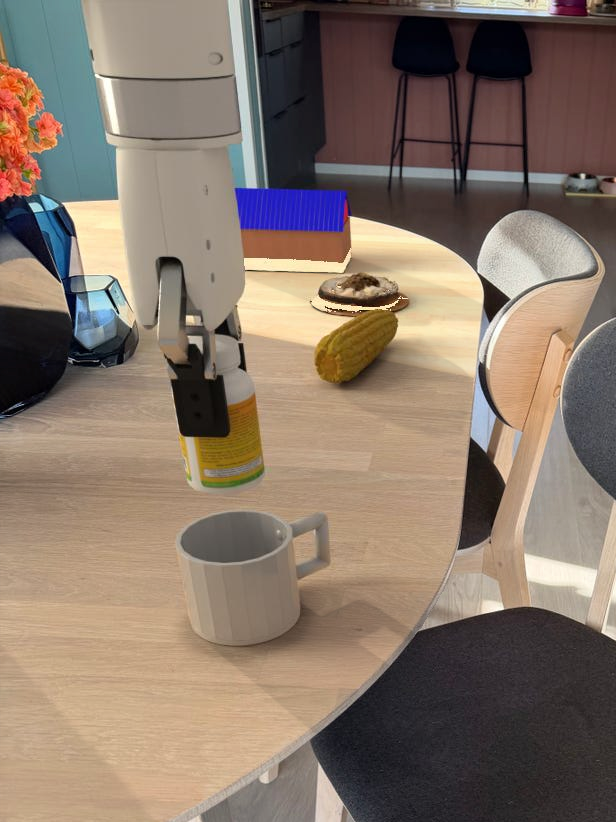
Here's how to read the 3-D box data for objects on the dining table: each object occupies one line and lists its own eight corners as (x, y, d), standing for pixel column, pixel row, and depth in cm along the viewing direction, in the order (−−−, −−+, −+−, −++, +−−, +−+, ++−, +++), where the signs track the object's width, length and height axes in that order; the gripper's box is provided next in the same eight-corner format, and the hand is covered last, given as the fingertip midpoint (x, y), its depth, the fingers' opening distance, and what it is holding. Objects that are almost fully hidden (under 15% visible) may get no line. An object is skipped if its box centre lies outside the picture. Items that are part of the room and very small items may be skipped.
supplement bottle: (281, 476, 66) (266, 340, 61) (225, 504, 63) (203, 362, 57) (228, 457, 69) (209, 324, 63) (171, 483, 65) (145, 345, 59)
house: (241, 253, 164) (232, 180, 158) (354, 256, 165) (350, 184, 158) (225, 270, 155) (215, 194, 148) (345, 274, 155) (341, 198, 148)
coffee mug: (229, 660, 68) (216, 578, 64) (169, 613, 72) (153, 534, 68) (363, 596, 75) (358, 519, 71) (300, 557, 80) (293, 483, 76)
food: (353, 393, 111) (350, 343, 108) (309, 388, 112) (304, 338, 109) (406, 339, 128) (405, 295, 124) (367, 335, 129) (365, 291, 125)
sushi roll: (299, 313, 136) (297, 284, 134) (322, 286, 148) (320, 259, 146) (399, 318, 135) (398, 289, 133) (414, 290, 148) (413, 263, 145)
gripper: (148, 94, 59) (192, 372, 70) (48, 131, 45) (122, 470, 56) (266, 97, 60) (292, 374, 70) (202, 135, 46) (246, 473, 56)
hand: (216, 414), depth 63 cm, fingers closed on supplement bottle, 5 cm apart
